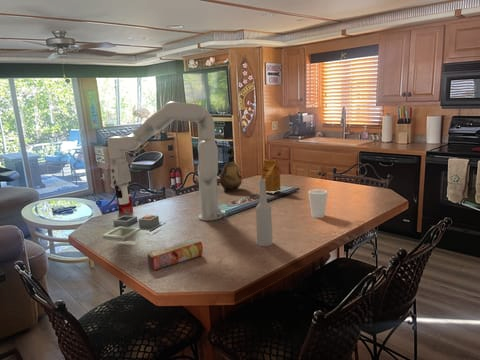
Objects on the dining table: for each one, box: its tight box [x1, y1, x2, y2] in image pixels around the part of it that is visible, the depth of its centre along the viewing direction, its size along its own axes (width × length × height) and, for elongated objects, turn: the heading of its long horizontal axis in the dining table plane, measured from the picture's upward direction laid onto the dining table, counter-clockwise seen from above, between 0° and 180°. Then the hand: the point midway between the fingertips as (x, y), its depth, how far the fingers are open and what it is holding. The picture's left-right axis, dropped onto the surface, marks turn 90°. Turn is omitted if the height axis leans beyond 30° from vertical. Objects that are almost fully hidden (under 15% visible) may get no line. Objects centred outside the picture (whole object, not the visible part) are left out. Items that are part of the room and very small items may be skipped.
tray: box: [102, 226, 141, 243], centre depth 172 cm, size 12×12×2 cm
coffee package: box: [260, 158, 281, 191], centre depth 238 cm, size 10×12×22 cm
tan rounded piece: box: [143, 214, 153, 219], centre depth 181 cm, size 4×4×4 cm
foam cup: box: [308, 188, 328, 219], centre depth 185 cm, size 10×9×13 cm
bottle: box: [255, 178, 273, 247], centre depth 151 cm, size 7×7×28 cm
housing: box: [112, 214, 163, 233], centre depth 184 cm, size 23×10×6 cm, turn 69°
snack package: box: [147, 238, 204, 271], centre depth 140 cm, size 21×7×7 cm, turn 125°
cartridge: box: [117, 183, 129, 205], centre depth 183 cm, size 5×5×10 cm
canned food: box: [116, 193, 134, 214], centre depth 207 cm, size 8×8×11 cm
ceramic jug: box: [219, 146, 243, 192], centre depth 249 cm, size 17×15×30 cm
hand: (123, 196), depth 184 cm, fingers closed on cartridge, 5 cm apart
